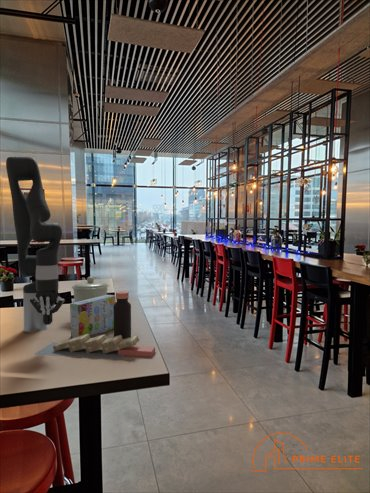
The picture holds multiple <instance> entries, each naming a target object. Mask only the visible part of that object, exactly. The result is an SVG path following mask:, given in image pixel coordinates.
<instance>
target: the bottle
mask: <svg viewBox="0 0 370 493" xmlns="http://www.w3.org/2000/svg"><path fill="white" fill-rule="evenodd" d="M115 298H116V303H115V304H114V329H113V337H116V336H119V335H121V336H122V339H127V338H130V337H132V304H131V303H130V302H129V291H126V290H123V291H116V292H115Z"/></svg>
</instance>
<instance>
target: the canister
mask: <svg viewBox="0 0 370 493" xmlns="http://www.w3.org/2000/svg"><path fill="white" fill-rule="evenodd" d="M109 286H110V285H109V284H108V283H106V282H104V281H97V280H95V278H94V276H88V277H87V278H86V281H82V282H77V283H75V284H74V285H72V286H71V289H72V292H73V297H74V298H73V299H74V303H75V302H79V301H83V300H87V299H92V298H96V297H100V296H104V295H108V287H109Z"/></svg>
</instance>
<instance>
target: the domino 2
mask: <svg viewBox="0 0 370 493" xmlns="http://www.w3.org/2000/svg"><path fill="white" fill-rule="evenodd" d="M106 339H108V338H107V336H106V334H101V335H98V336H94V337H92V338H91V337H90V339H89V340H88V341H86V342H85V343H83V344H79V345H75V346H72V347H69V349H70V352H73V351H77V350H80V349H84V348H88V347H91V346H95V345H98V344H101V343H103V342H104V341H105V340H106Z"/></svg>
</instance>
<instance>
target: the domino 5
mask: <svg viewBox="0 0 370 493" xmlns="http://www.w3.org/2000/svg"><path fill="white" fill-rule="evenodd" d="M155 353H156V346H154V345H153V346H150V345H149V346H148V345H138V344H136V345H133V346H130V347H126V348H123V349H119V350H118V355H126V356H129V357H130V356H131V357H133V356H134V357H145V358H148V357H149V358H152V357H153V355H154V354H155Z"/></svg>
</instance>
